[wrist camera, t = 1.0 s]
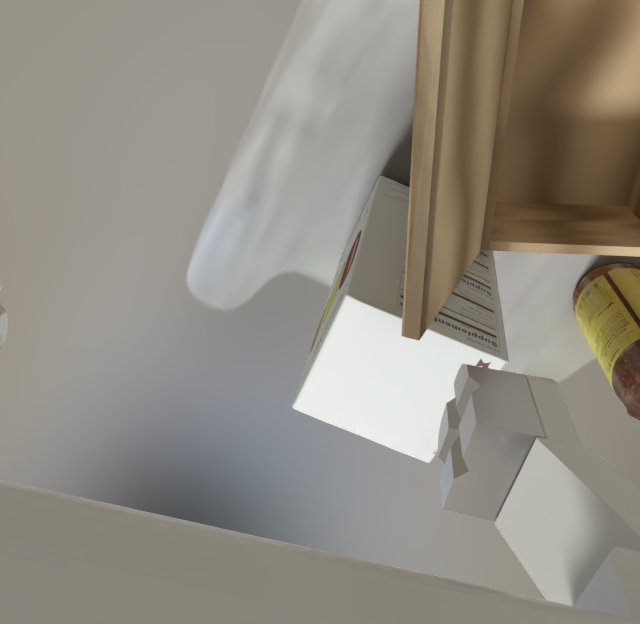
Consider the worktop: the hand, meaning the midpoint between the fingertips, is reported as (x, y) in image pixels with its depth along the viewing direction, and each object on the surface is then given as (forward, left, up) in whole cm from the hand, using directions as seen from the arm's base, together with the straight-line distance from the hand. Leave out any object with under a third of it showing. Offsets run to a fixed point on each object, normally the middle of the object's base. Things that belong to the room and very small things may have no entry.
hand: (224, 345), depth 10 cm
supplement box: (-3, +13, -34) cm, 36 cm away
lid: (-6, +1, -20) cm, 21 cm away
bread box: (-13, +1, -34) cm, 36 cm away
